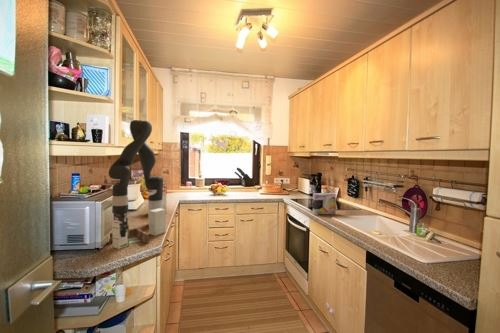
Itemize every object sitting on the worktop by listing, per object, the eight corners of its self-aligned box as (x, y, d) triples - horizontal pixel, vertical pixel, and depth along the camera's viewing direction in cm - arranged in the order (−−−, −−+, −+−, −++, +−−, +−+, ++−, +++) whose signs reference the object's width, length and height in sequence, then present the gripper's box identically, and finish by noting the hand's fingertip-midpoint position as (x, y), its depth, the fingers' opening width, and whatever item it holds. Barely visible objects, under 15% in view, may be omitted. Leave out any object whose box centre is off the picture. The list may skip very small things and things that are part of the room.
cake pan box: (313, 215, 215) (313, 193, 214) (311, 213, 220) (311, 192, 219) (335, 215, 217) (336, 193, 216) (333, 213, 222) (334, 192, 221)
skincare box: (159, 231, 166) (159, 207, 165) (166, 232, 163) (166, 208, 162) (148, 234, 159) (148, 210, 158) (155, 236, 156) (155, 211, 155)
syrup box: (119, 249, 134) (119, 221, 133) (112, 247, 137) (111, 219, 136) (129, 245, 139) (129, 218, 138) (122, 243, 142) (121, 217, 141)
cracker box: (166, 214, 211) (166, 188, 210) (161, 215, 206) (161, 189, 205) (153, 212, 217) (153, 187, 216) (148, 213, 212) (147, 188, 211)
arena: (107, 242, 144) (107, 233, 143) (137, 236, 155) (137, 228, 155) (117, 250, 132) (117, 240, 132) (149, 243, 144) (148, 234, 143)
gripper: (133, 205, 134) (133, 237, 135) (122, 201, 145) (123, 230, 145) (117, 207, 129) (117, 240, 130) (108, 202, 139) (108, 233, 140)
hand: (120, 235), depth 138 cm, fingers closed on syrup box, 6 cm apart
